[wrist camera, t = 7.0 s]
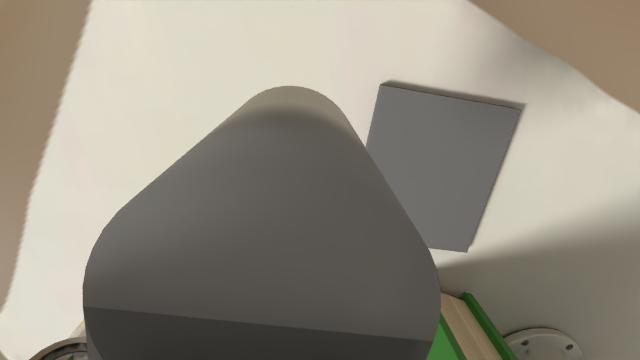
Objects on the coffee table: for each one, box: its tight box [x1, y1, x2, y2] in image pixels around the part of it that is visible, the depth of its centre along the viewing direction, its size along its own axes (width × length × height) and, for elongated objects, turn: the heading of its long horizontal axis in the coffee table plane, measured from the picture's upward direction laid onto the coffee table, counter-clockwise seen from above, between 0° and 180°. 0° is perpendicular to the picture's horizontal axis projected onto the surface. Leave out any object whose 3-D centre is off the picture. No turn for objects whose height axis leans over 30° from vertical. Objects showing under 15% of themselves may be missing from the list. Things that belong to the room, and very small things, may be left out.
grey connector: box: [83, 86, 441, 360], centre depth 7 cm, size 4×10×9 cm, turn 170°
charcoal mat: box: [366, 85, 521, 253], centre depth 30 cm, size 12×14×1 cm
